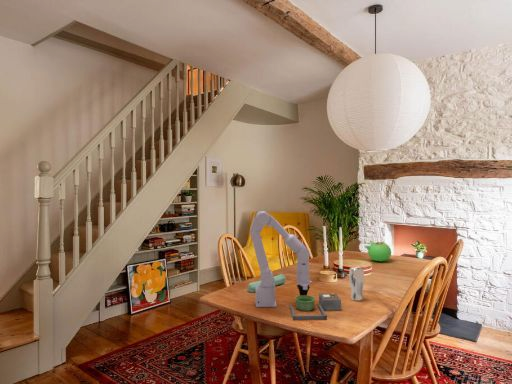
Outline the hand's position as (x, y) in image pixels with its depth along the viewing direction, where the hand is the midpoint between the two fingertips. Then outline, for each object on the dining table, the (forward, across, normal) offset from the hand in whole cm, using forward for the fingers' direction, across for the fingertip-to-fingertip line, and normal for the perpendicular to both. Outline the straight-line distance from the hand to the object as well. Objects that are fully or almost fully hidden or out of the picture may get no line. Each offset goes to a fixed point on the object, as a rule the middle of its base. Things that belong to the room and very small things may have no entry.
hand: (303, 300), depth 160 cm
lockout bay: (+1, -13, 0) cm, 13 cm away
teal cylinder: (+2, +27, +17) cm, 32 cm away
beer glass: (+2, +5, -27) cm, 28 cm away
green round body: (+2, +89, -68) cm, 112 cm away
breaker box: (+1, -4, -12) cm, 12 cm away
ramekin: (+2, -6, 0) cm, 6 cm away
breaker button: (-1, -4, -10) cm, 11 cm away
